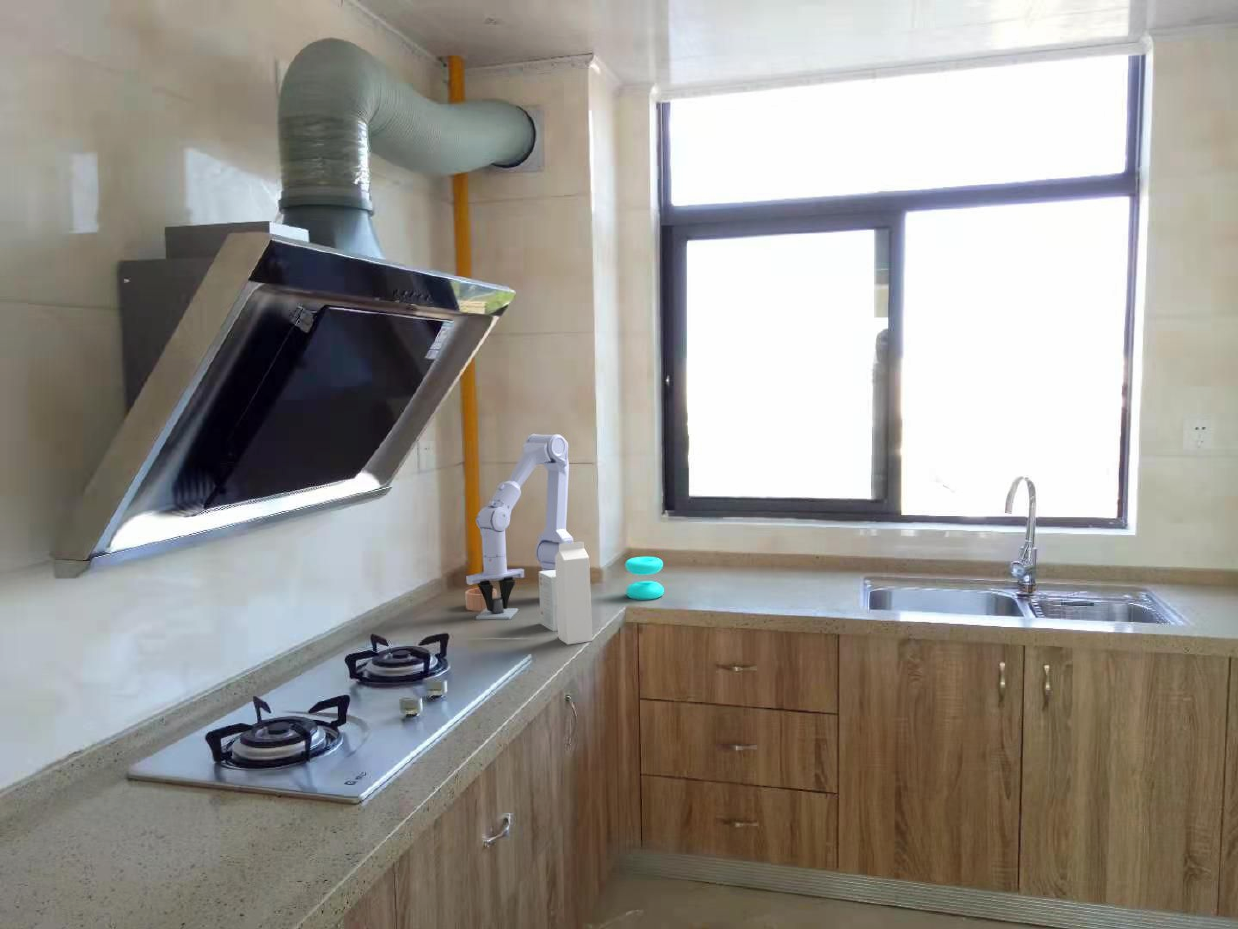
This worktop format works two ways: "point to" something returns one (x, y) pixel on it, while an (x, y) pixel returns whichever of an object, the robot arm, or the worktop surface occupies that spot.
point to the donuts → (644, 588)
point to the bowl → (476, 599)
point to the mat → (499, 619)
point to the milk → (573, 593)
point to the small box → (548, 599)
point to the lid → (497, 611)
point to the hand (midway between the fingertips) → (497, 609)
